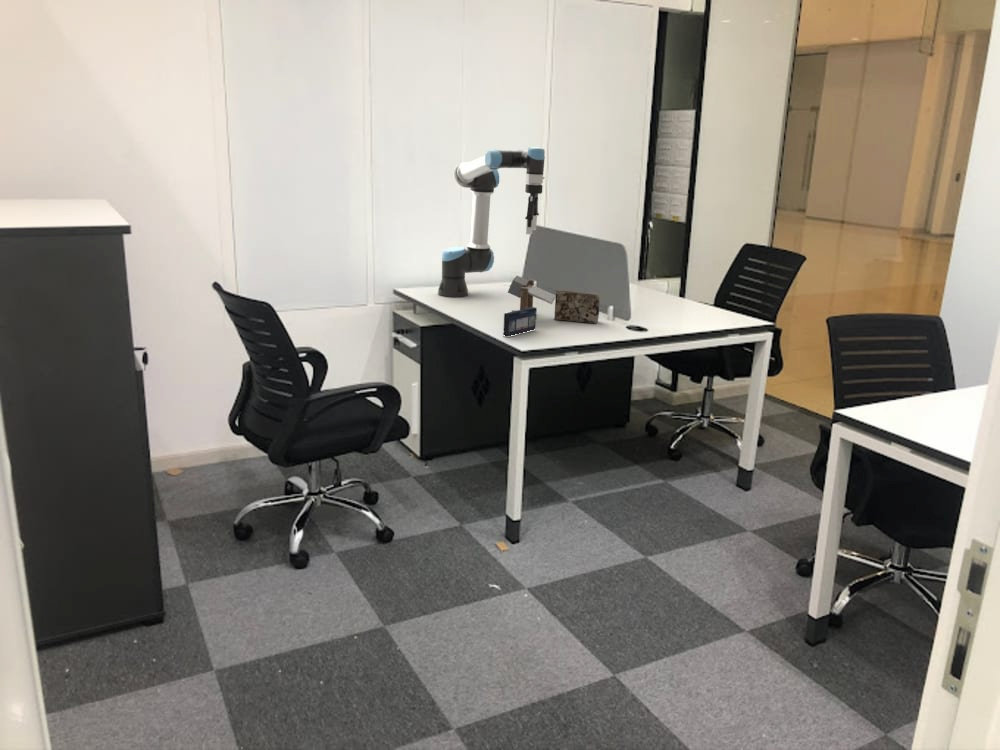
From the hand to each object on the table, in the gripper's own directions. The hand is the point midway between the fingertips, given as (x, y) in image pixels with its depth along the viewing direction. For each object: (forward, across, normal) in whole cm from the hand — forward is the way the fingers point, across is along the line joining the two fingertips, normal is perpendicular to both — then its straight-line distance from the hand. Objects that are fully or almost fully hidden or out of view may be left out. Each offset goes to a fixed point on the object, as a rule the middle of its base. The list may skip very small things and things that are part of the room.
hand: (531, 232), depth 360 cm
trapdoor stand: (+37, -12, +1) cm, 39 cm away
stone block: (+30, -8, -14) cm, 34 cm away
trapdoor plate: (+28, -12, -3) cm, 30 cm away
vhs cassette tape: (+37, -39, -3) cm, 54 cm away
